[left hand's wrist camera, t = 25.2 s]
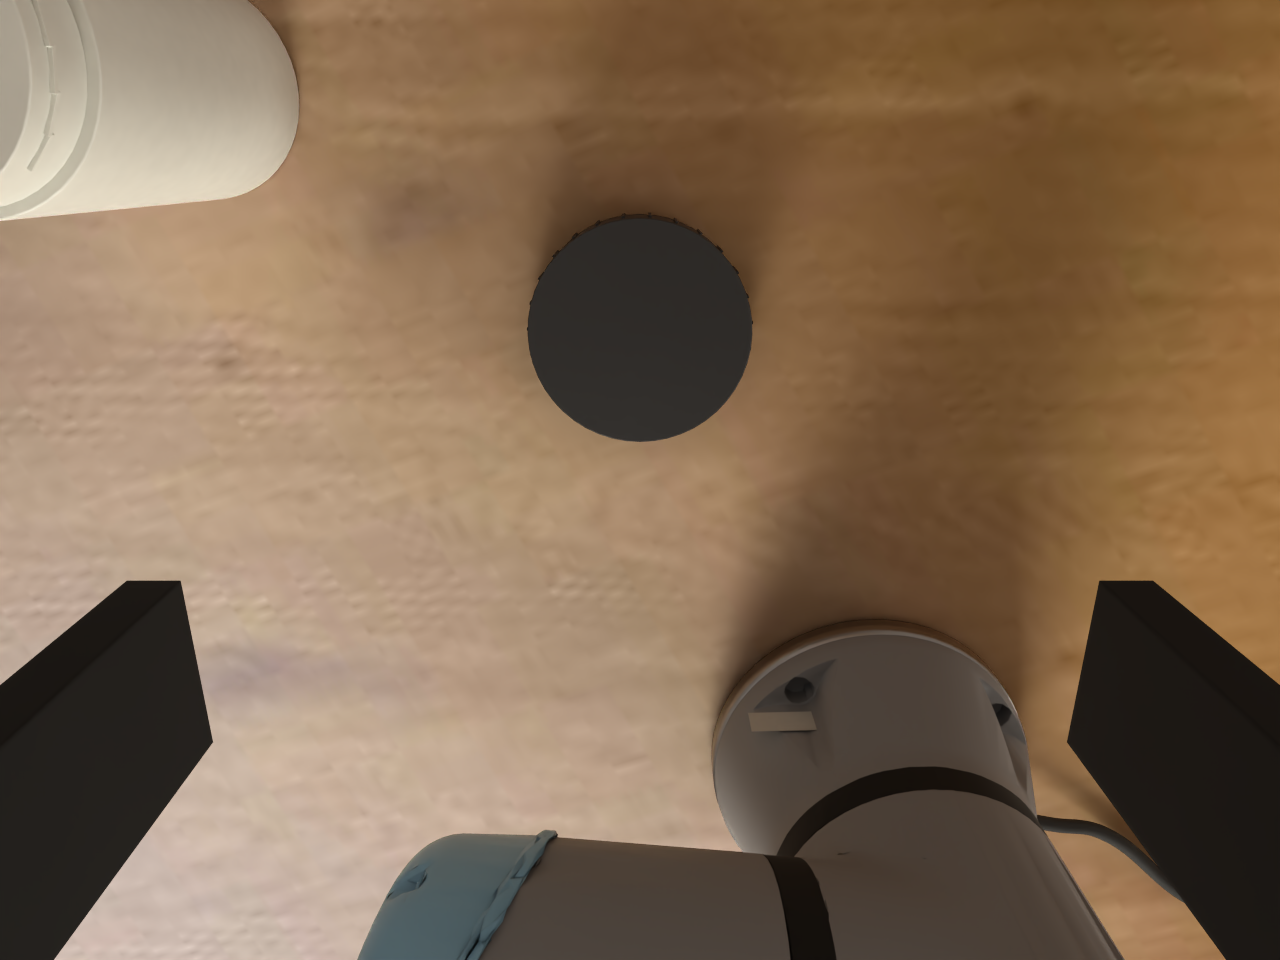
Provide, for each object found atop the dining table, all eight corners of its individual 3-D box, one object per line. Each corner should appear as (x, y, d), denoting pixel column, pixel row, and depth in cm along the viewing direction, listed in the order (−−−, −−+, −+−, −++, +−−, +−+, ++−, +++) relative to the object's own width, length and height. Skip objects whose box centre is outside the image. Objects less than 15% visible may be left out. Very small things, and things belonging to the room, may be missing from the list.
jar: (300, -9, 33) (26, -144, 18) (299, 213, 36) (60, 251, 21) (81, -43, 33) (-379, -208, 18) (97, 184, 35) (-291, 202, 21)
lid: (512, 397, 38) (504, 412, 36) (559, 185, 35) (554, 187, 33) (711, 448, 39) (716, 466, 37) (774, 245, 36) (784, 251, 34)
